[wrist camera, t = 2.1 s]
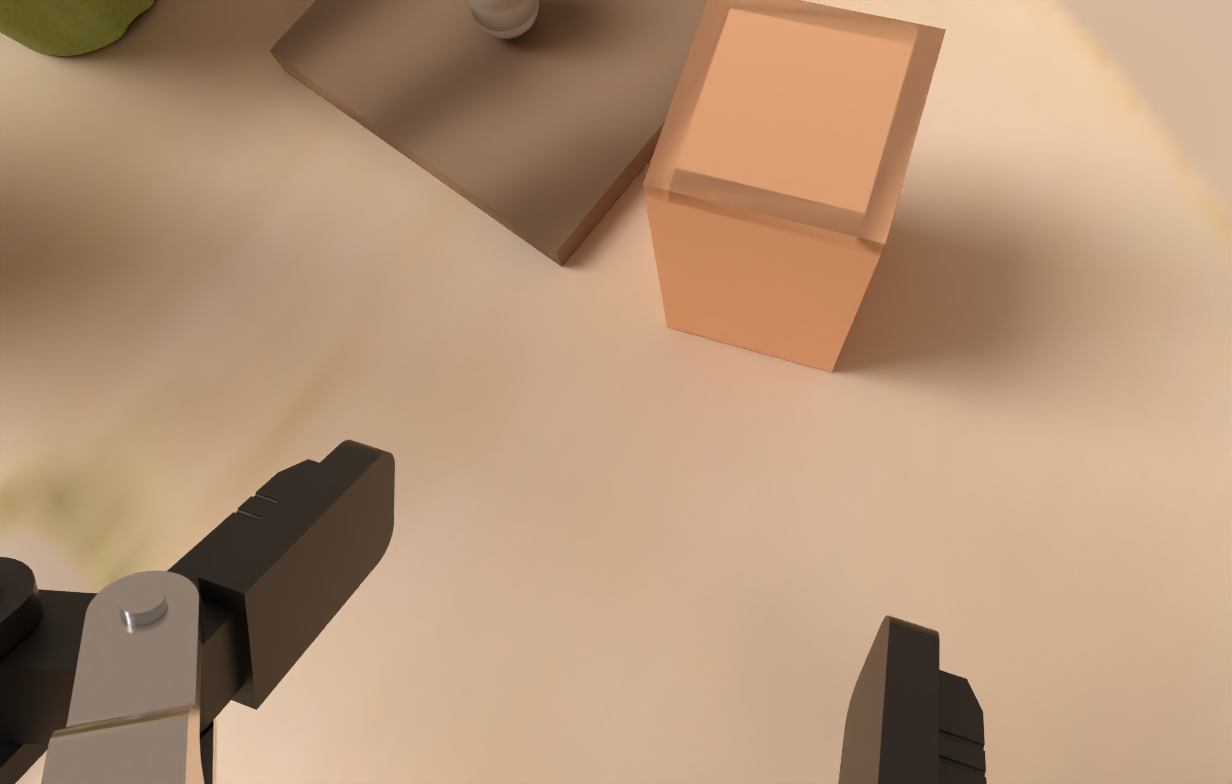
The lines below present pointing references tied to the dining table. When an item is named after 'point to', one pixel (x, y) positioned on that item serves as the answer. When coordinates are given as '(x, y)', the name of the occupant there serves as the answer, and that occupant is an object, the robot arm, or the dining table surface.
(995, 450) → the dining table surface
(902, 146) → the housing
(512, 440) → the dining table surface
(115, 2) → the plant pot
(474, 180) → the plate
